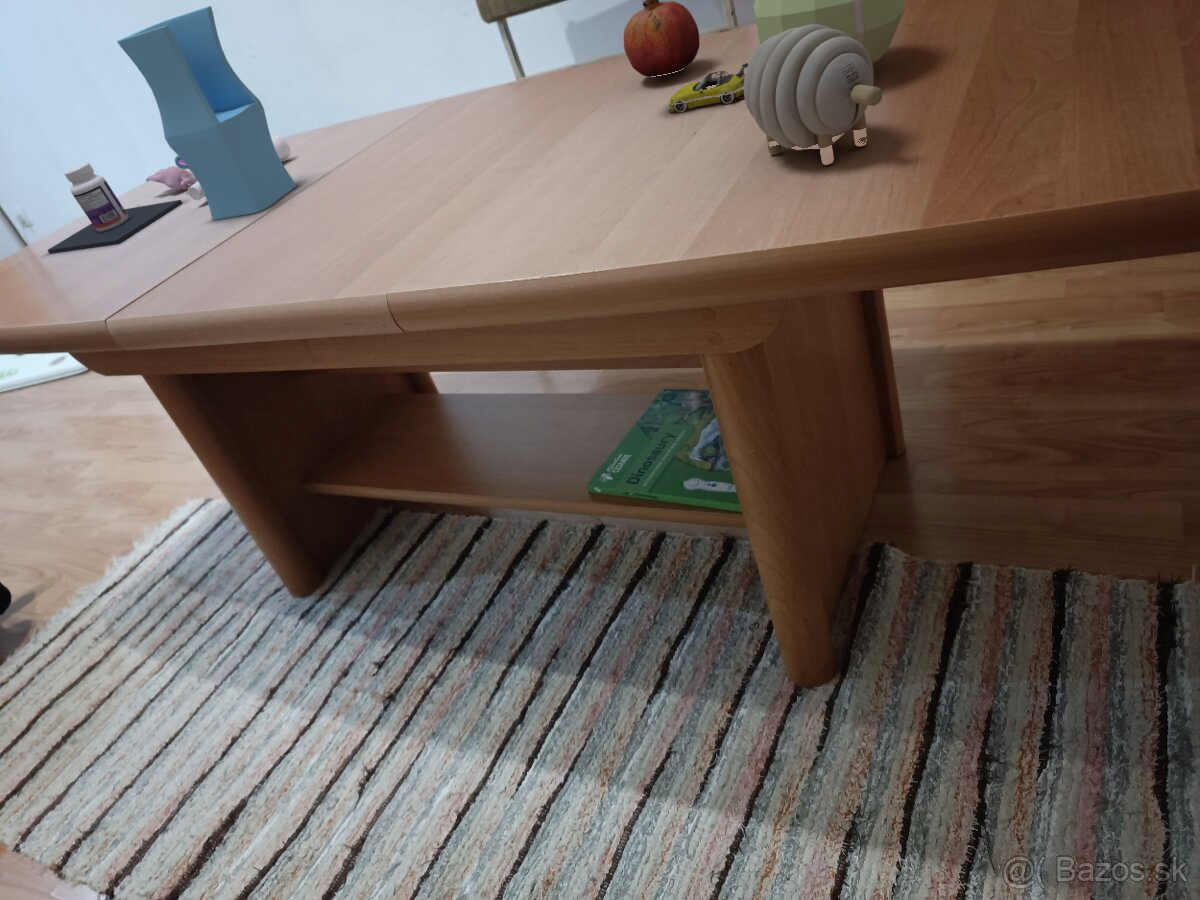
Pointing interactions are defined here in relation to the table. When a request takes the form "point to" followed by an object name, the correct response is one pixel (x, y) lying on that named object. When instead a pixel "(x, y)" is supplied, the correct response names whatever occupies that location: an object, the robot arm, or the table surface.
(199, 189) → the binoculars
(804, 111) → the toy sheep
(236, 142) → the vase
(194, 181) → the pink figurine
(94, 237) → the mat
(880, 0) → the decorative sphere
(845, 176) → the table surface
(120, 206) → the pill bottle
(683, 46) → the fruit
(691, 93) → the toy car
